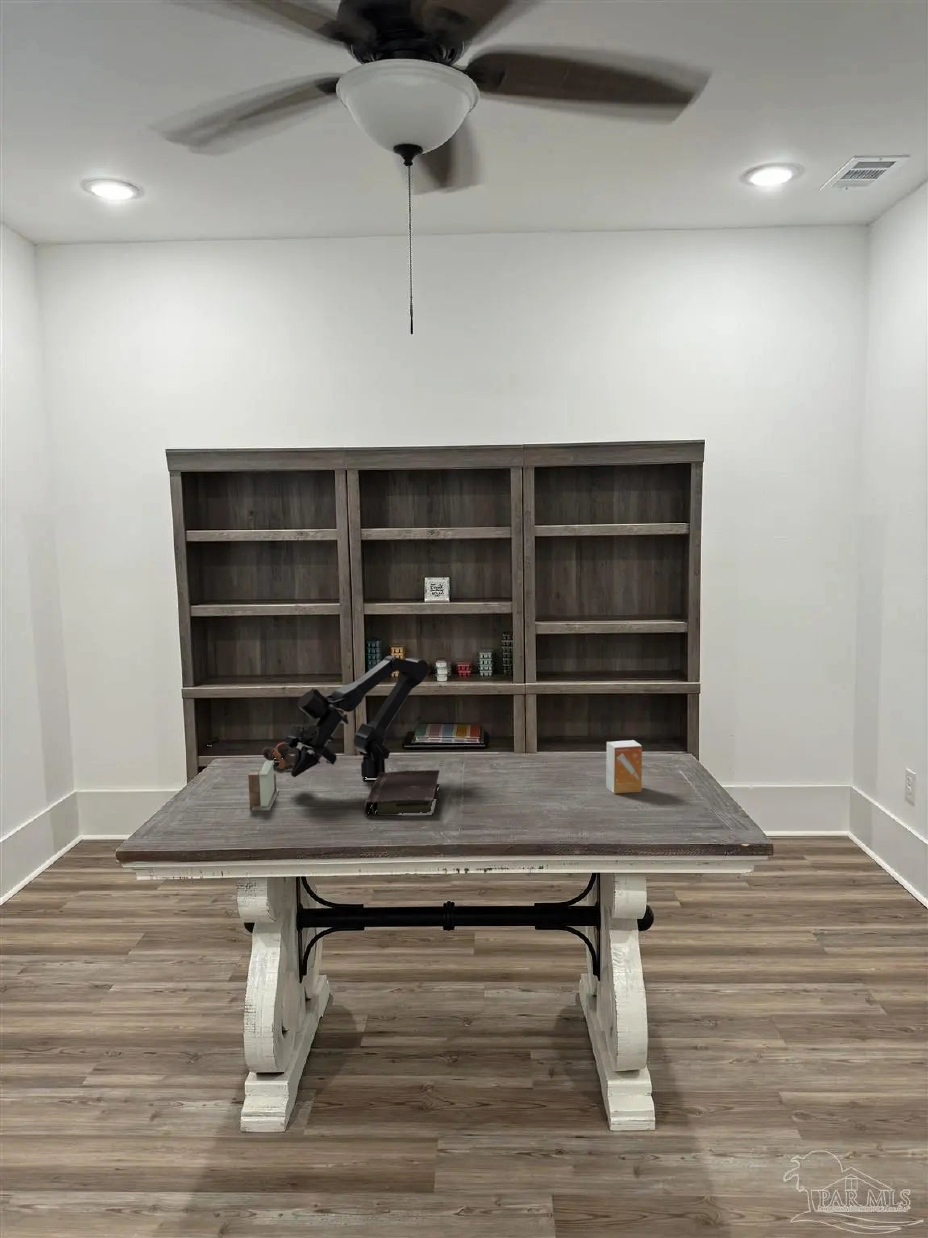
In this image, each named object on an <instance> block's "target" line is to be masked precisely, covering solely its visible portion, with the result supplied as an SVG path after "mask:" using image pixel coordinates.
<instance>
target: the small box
mask: <svg viewBox="0 0 928 1238" xmlns="http://www.w3.org/2000/svg"><path fill="white" fill-rule="evenodd" d="M605 763H606V764H605V765H606V768H605V769H606V773H605V774H606V775H605V777H606V781H605V784H606V786H605V787H606V788H607V789H608V790H609V791H610V792H611V793H612V794H614V795H615V794H627V793H641V792H642V776H643V774H642V772H643V767H642V765H643V746H642V745H641V744H640V743H639V742H637V741H636V740H634V739H631V740H618V741H617V740H616V741H606V762H605Z"/></svg>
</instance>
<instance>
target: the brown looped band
mask: <svg viewBox="0 0 928 1238" xmlns="http://www.w3.org/2000/svg"><path fill="white" fill-rule="evenodd" d="M290 749H291V748H290V747H288V746H287V745H286V744H285V743H284V741H282V742H279V743H278V744H277V745H276V746H275V747H273V746H272V747H271V746H265V747H263V749H262V752H261V753H262V756H263V758H264V759H265V760H266V761H273V762H274V763H273V764H276V763H275V761H279V763H278V769H279V770H281V769H283V770H285V767H286V768H287V767H289V766H292V765H294V762H295V757H296V754H294V755H292V754H290V753H288V751H289V750H290ZM291 750H292V749H291ZM274 758H276V759H274ZM282 758H283V759H282Z"/></svg>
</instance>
